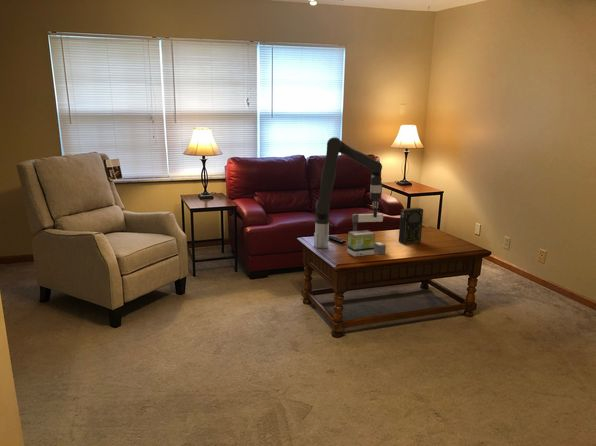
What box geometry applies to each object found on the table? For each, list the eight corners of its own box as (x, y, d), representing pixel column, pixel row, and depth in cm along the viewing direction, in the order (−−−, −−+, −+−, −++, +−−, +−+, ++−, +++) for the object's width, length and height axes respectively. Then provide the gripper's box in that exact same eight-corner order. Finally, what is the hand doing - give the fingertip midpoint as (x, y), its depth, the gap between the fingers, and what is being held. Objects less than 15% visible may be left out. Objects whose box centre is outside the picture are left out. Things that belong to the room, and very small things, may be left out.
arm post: (351, 250, 313) (352, 223, 309) (348, 247, 319) (349, 221, 314) (359, 249, 315) (361, 223, 310) (356, 247, 321) (357, 221, 316)
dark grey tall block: (403, 245, 327) (406, 210, 320) (396, 241, 334) (399, 208, 328) (422, 243, 333) (424, 209, 326) (414, 239, 340) (417, 206, 334)
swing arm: (383, 221, 314) (383, 214, 312) (353, 222, 310) (353, 215, 309) (381, 220, 317) (381, 213, 316) (351, 221, 314) (351, 214, 313)
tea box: (354, 257, 299) (355, 235, 296) (346, 252, 308) (347, 231, 305) (374, 254, 305) (375, 233, 302) (366, 250, 314) (367, 229, 311)
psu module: (378, 254, 305) (378, 245, 304) (373, 251, 313) (373, 242, 311) (385, 254, 307) (385, 245, 305) (379, 250, 314) (380, 241, 312)
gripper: (381, 193, 300) (380, 219, 304) (381, 190, 313) (380, 215, 317) (369, 193, 301) (369, 219, 305) (370, 189, 314) (369, 214, 318)
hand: (375, 217), depth 311 cm, fingers closed
